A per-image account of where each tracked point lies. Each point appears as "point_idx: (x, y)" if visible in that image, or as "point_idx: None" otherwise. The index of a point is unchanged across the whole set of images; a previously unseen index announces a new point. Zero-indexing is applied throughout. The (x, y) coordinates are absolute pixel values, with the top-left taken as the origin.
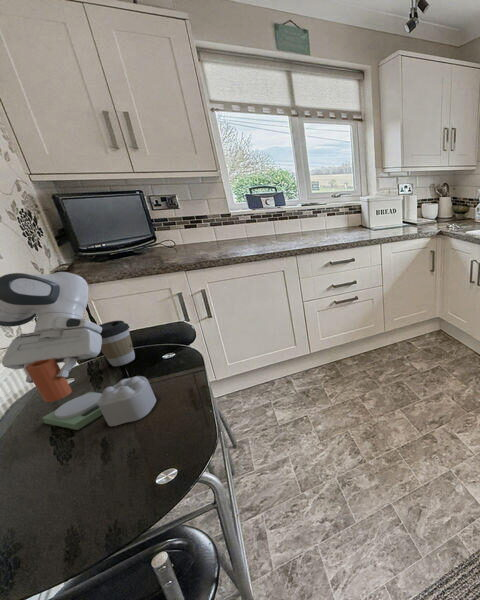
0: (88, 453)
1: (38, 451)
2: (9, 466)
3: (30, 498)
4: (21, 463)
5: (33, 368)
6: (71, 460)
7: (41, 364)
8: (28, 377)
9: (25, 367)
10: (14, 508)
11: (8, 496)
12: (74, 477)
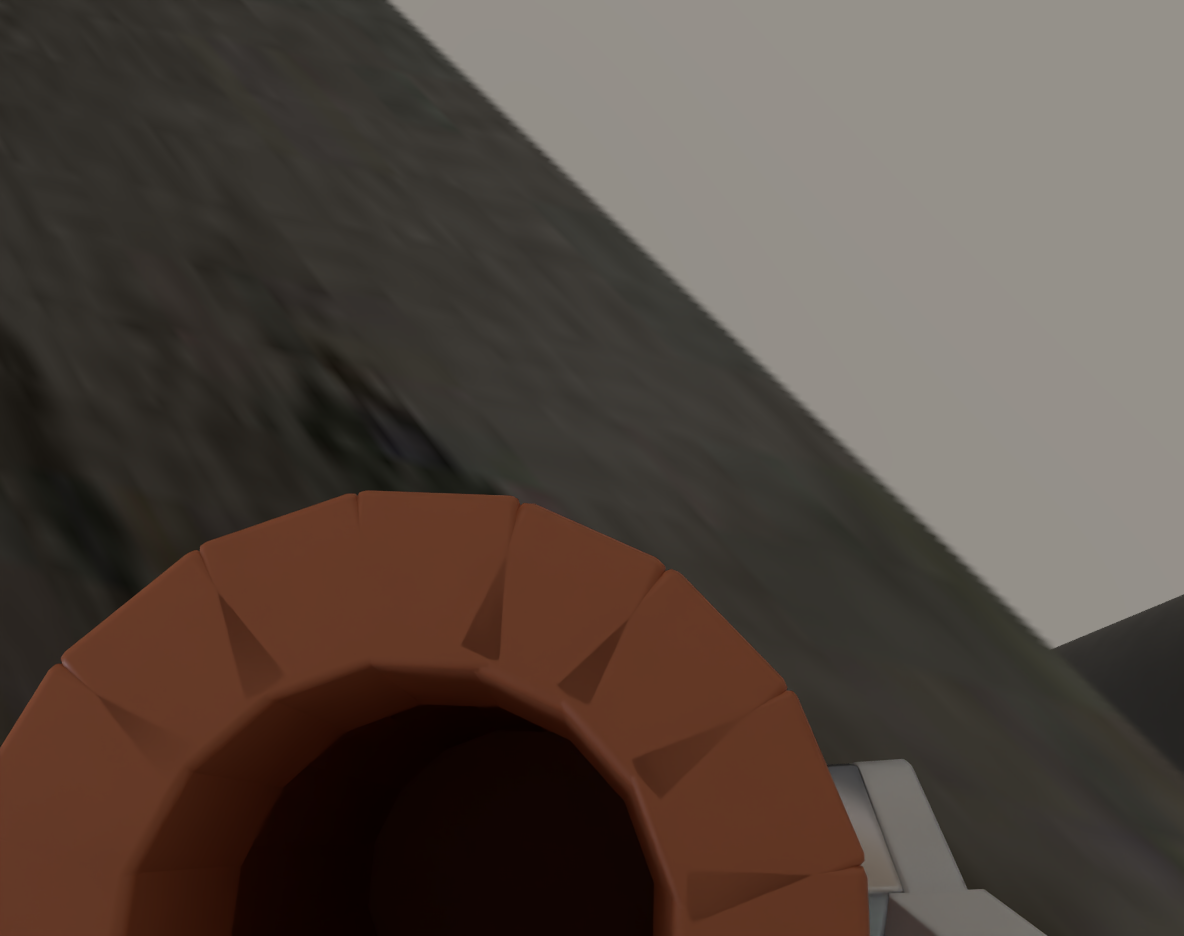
0: (175, 434)
1: (700, 573)
2: (810, 434)
3: (335, 92)
4: (727, 447)
5: (336, 498)
6: (279, 383)
7: (202, 736)
8: (886, 827)
9: (761, 667)
10: (383, 40)
11: (516, 137)
12: (134, 202)
